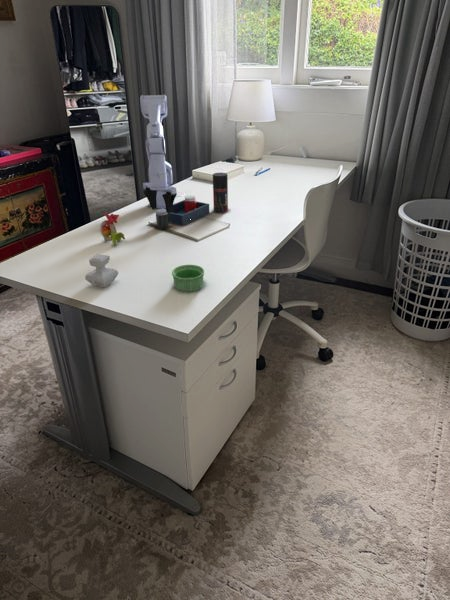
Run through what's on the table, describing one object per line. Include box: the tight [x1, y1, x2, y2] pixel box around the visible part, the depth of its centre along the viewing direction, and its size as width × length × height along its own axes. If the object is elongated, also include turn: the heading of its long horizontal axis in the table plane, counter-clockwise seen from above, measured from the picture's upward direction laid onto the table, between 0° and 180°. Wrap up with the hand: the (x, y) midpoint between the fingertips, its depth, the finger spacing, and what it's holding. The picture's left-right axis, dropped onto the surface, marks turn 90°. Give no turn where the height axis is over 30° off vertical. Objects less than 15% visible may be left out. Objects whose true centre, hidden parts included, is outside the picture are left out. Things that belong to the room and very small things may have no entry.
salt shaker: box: [184, 194, 197, 213], centre depth 172 cm, size 5×5×7 cm
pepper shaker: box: [155, 208, 170, 230], centre depth 159 cm, size 5×5×7 cm
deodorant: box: [212, 172, 229, 214], centre depth 173 cm, size 6×6×15 cm
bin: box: [162, 199, 210, 226], centre depth 170 cm, size 12×17×4 cm
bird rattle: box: [99, 212, 126, 246], centre depth 146 cm, size 6×11×9 cm
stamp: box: [84, 253, 119, 288], centre depth 119 cm, size 9×7×8 cm
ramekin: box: [171, 264, 205, 292], centre depth 118 cm, size 9×9×4 cm
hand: (161, 210), depth 157 cm, fingers open, 7 cm apart
